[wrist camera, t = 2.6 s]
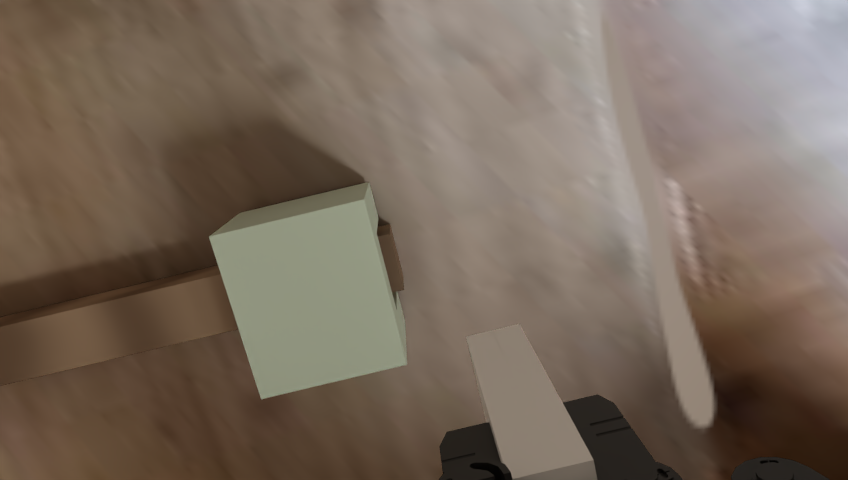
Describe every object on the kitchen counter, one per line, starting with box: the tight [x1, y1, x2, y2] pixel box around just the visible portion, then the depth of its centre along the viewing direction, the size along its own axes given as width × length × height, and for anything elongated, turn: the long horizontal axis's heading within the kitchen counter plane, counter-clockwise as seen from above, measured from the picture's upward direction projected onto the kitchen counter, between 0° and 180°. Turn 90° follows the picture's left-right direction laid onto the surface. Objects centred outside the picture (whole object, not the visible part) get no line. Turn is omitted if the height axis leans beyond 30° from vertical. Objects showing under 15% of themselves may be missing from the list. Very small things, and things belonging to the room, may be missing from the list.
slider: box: [209, 182, 407, 399], centre depth 32 cm, size 7×8×6 cm
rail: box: [0, 224, 404, 386], centre depth 32 cm, size 27×7×6 cm, turn 103°
